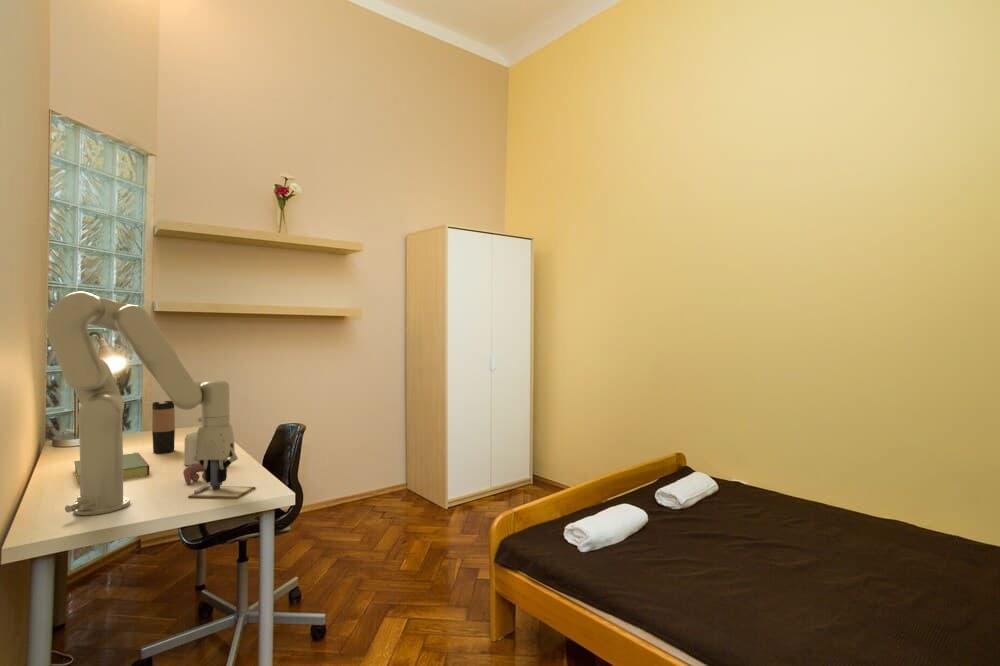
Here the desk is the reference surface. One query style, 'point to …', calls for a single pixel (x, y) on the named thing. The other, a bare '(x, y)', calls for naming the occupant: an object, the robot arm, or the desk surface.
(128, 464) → the hardcover book
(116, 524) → the desk surface
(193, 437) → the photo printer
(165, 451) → the travel mug
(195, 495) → the clipboard
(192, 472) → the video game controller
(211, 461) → the marker
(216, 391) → the robot arm
